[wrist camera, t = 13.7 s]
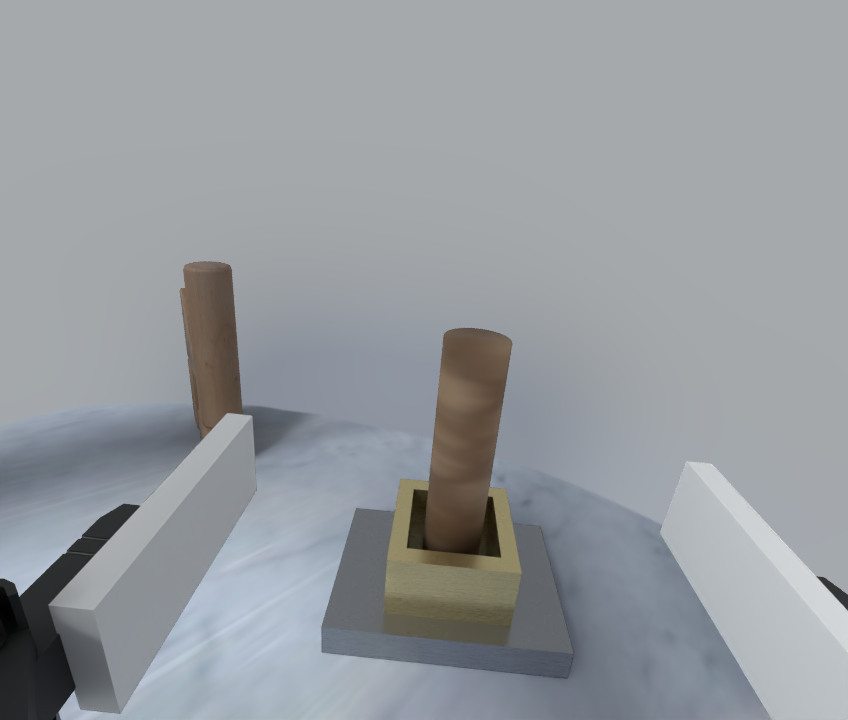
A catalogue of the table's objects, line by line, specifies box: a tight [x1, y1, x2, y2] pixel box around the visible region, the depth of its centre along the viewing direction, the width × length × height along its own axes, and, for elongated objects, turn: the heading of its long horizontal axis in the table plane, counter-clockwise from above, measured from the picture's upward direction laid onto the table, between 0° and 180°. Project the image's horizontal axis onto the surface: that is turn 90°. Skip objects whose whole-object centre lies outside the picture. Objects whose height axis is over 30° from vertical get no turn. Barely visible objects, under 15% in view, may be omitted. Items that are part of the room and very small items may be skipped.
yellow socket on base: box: [321, 479, 574, 678], centre depth 29 cm, size 14×10×6 cm
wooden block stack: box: [180, 262, 243, 441], centre depth 43 cm, size 4×11×18 cm, turn 31°
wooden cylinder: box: [422, 328, 512, 555], centre depth 27 cm, size 4×4×16 cm
